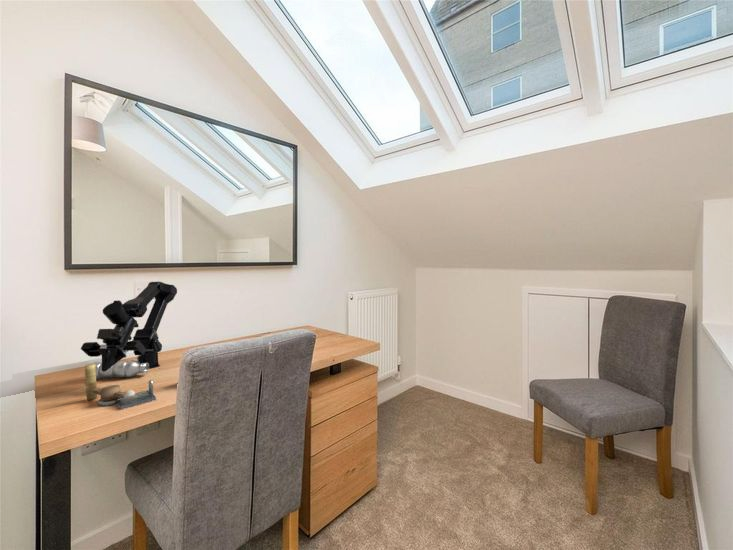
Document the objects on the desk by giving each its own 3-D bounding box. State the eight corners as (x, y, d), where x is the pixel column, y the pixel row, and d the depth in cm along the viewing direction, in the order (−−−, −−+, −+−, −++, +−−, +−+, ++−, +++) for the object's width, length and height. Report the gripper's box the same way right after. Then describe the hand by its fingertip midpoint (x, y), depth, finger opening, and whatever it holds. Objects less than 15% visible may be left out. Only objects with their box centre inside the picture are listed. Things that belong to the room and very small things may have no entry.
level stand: (146, 389, 116) (146, 375, 116) (157, 399, 108) (157, 384, 108) (96, 402, 106) (95, 386, 106) (103, 414, 98) (103, 397, 98)
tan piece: (140, 400, 107) (139, 367, 106) (125, 407, 102) (123, 372, 101) (96, 394, 111) (95, 362, 111) (80, 400, 107) (78, 367, 106)
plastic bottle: (94, 373, 130) (151, 369, 134) (84, 384, 124) (144, 380, 128) (91, 358, 128) (149, 355, 132) (80, 368, 122) (141, 365, 126)
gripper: (83, 319, 118) (58, 360, 107) (139, 318, 119) (121, 358, 109) (100, 336, 126) (79, 376, 116) (152, 335, 127) (136, 374, 117)
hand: (103, 371), depth 114 cm, fingers closed
